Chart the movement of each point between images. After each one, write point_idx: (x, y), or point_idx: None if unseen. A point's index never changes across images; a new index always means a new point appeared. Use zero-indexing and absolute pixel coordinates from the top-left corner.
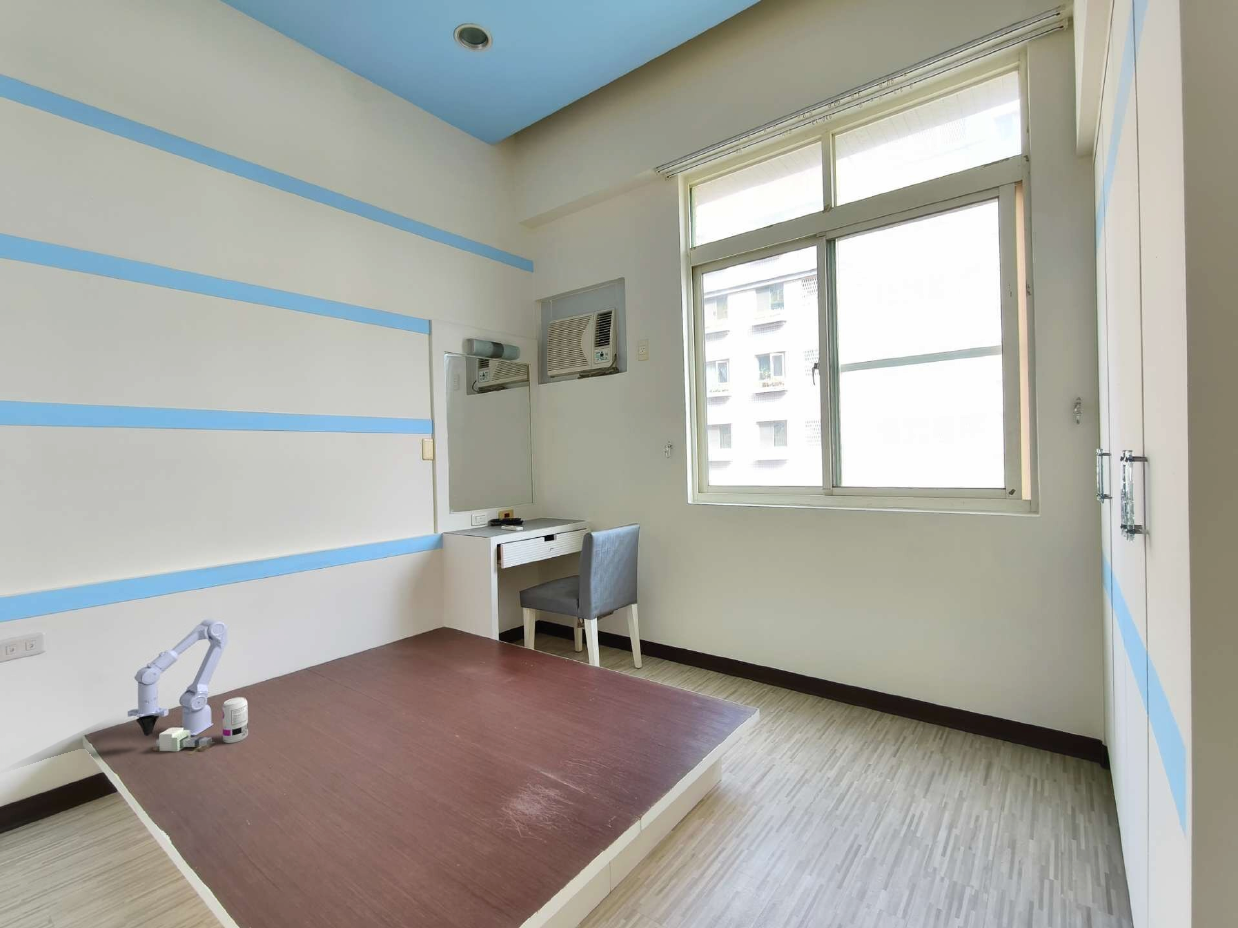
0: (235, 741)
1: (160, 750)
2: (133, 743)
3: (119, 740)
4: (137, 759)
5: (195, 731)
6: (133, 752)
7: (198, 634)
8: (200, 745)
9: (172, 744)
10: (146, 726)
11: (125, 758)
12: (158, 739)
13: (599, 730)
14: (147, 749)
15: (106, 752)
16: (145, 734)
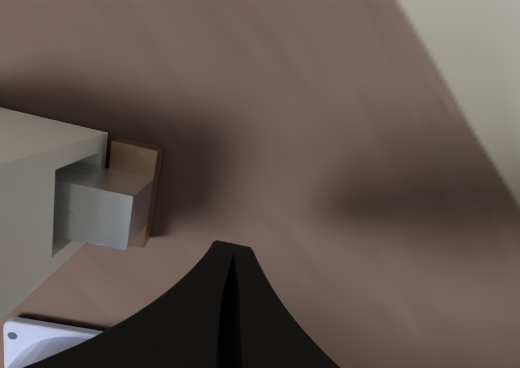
0: None
1: (99, 131)
2: (375, 291)
3: (478, 343)
4: (199, 16)
5: (22, 351)
6: (305, 158)
7: None
8: None
9: None
10: (187, 299)
11: (312, 64)
12: (124, 211)
13: None
14: (227, 184)
15: (494, 203)
16: (236, 247)
